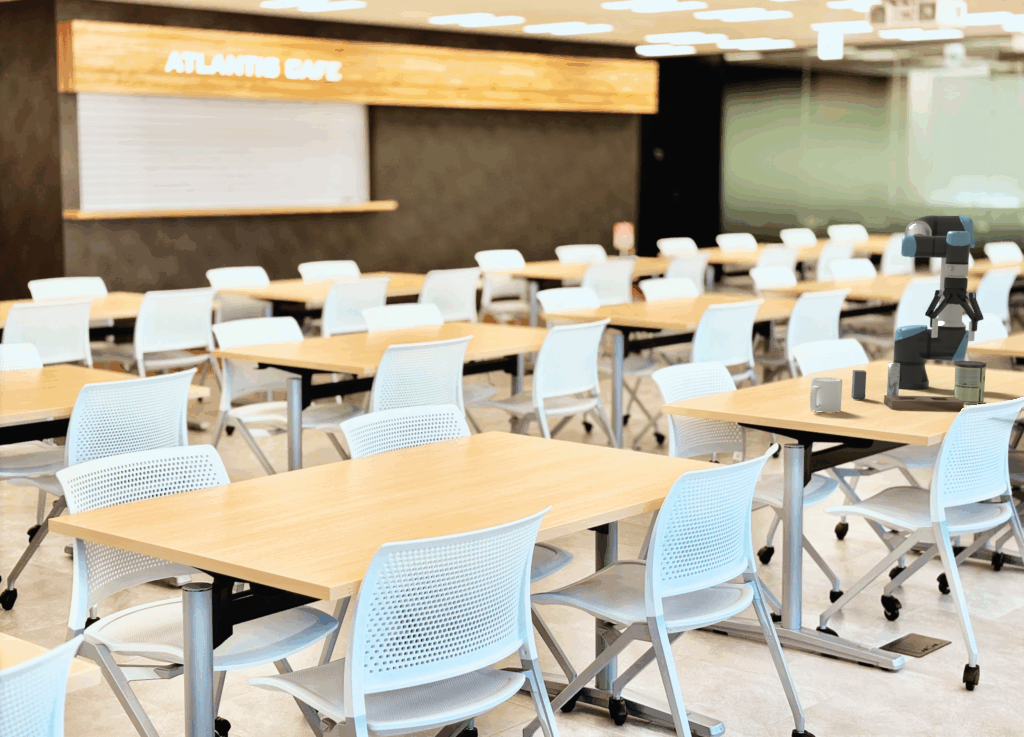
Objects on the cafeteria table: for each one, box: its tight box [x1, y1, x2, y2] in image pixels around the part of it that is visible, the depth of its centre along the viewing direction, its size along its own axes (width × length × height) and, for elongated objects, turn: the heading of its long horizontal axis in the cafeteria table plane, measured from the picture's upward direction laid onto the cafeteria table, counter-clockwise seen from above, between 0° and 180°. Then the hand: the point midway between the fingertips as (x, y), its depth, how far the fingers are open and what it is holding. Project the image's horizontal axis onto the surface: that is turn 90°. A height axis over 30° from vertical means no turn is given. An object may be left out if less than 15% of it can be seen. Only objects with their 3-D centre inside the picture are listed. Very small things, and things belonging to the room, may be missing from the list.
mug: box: [809, 376, 843, 412], centre depth 443 cm, size 14×10×11 cm
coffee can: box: [953, 360, 987, 405], centre depth 466 cm, size 10×10×14 cm
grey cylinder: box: [886, 362, 900, 396], centre depth 470 cm, size 4×4×13 cm
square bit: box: [851, 369, 867, 400], centre depth 471 cm, size 4×4×10 cm
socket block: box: [883, 394, 965, 412], centre depth 454 cm, size 12×24×3 cm, turn 86°
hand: (952, 339), depth 451 cm, fingers open, 13 cm apart
